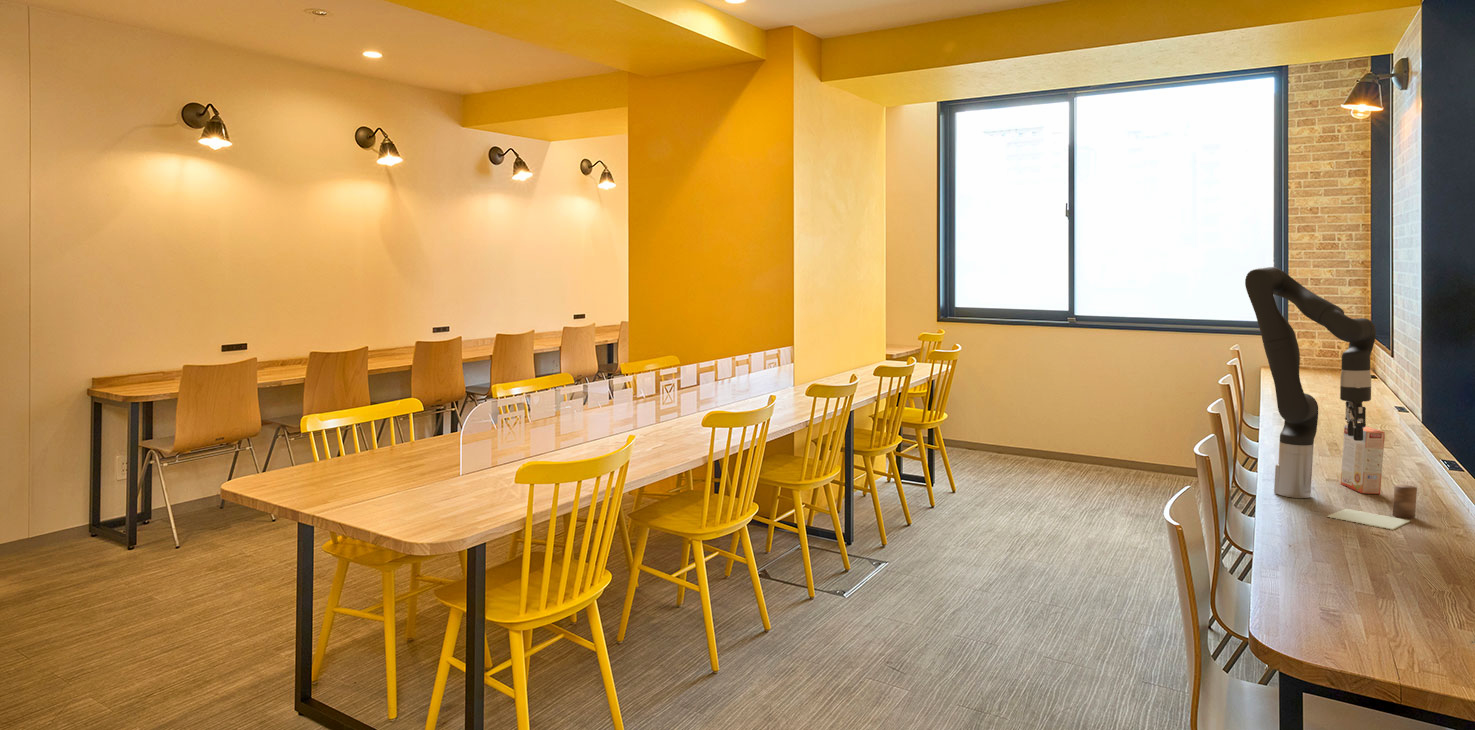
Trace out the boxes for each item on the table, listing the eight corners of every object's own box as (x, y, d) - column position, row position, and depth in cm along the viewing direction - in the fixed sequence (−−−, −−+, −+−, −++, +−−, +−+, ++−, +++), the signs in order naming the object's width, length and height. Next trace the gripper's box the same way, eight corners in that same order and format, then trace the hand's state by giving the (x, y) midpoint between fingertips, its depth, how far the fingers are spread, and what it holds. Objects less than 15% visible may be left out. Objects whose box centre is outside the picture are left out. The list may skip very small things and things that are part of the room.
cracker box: (1381, 495, 275) (1386, 431, 273) (1360, 494, 276) (1365, 430, 274) (1359, 484, 289) (1363, 424, 287) (1339, 484, 290) (1343, 423, 288)
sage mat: (1327, 517, 250) (1327, 516, 250) (1345, 509, 258) (1345, 508, 258) (1392, 530, 237) (1392, 528, 237) (1410, 521, 245) (1410, 520, 245)
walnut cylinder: (1389, 516, 251) (1391, 486, 250) (1396, 513, 254) (1398, 483, 253) (1411, 520, 246) (1413, 489, 246) (1417, 517, 249) (1419, 487, 249)
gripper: (1335, 382, 263) (1335, 434, 264) (1345, 387, 250) (1345, 441, 251) (1365, 382, 260) (1364, 434, 261) (1376, 387, 247) (1376, 442, 248)
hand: (1355, 438), depth 256 cm, fingers open, 8 cm apart
